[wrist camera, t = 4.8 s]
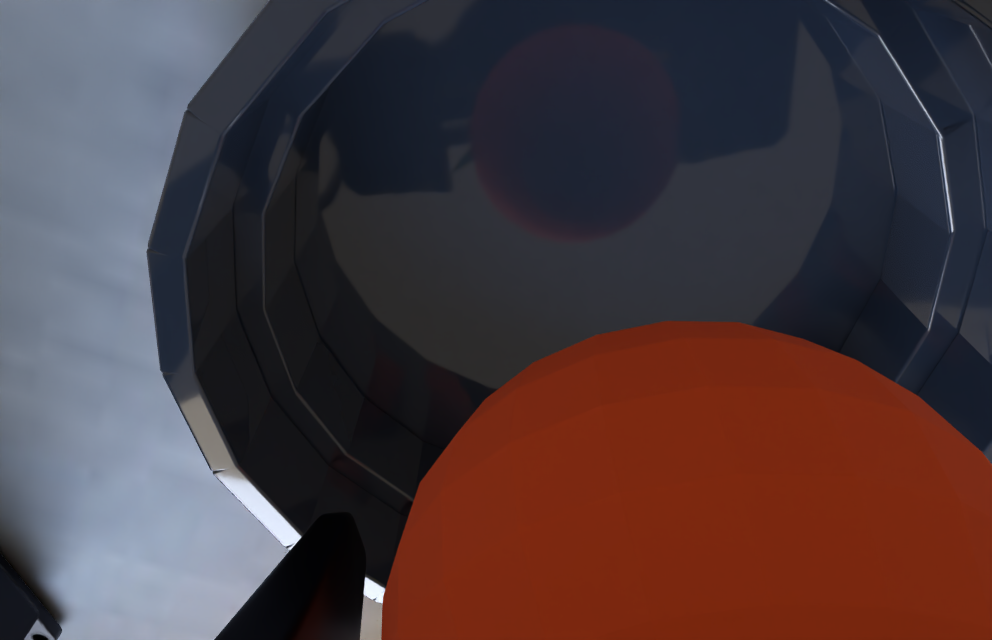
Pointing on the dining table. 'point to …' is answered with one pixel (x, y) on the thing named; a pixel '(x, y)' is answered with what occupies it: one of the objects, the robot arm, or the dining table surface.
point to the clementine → (698, 502)
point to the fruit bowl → (555, 217)
